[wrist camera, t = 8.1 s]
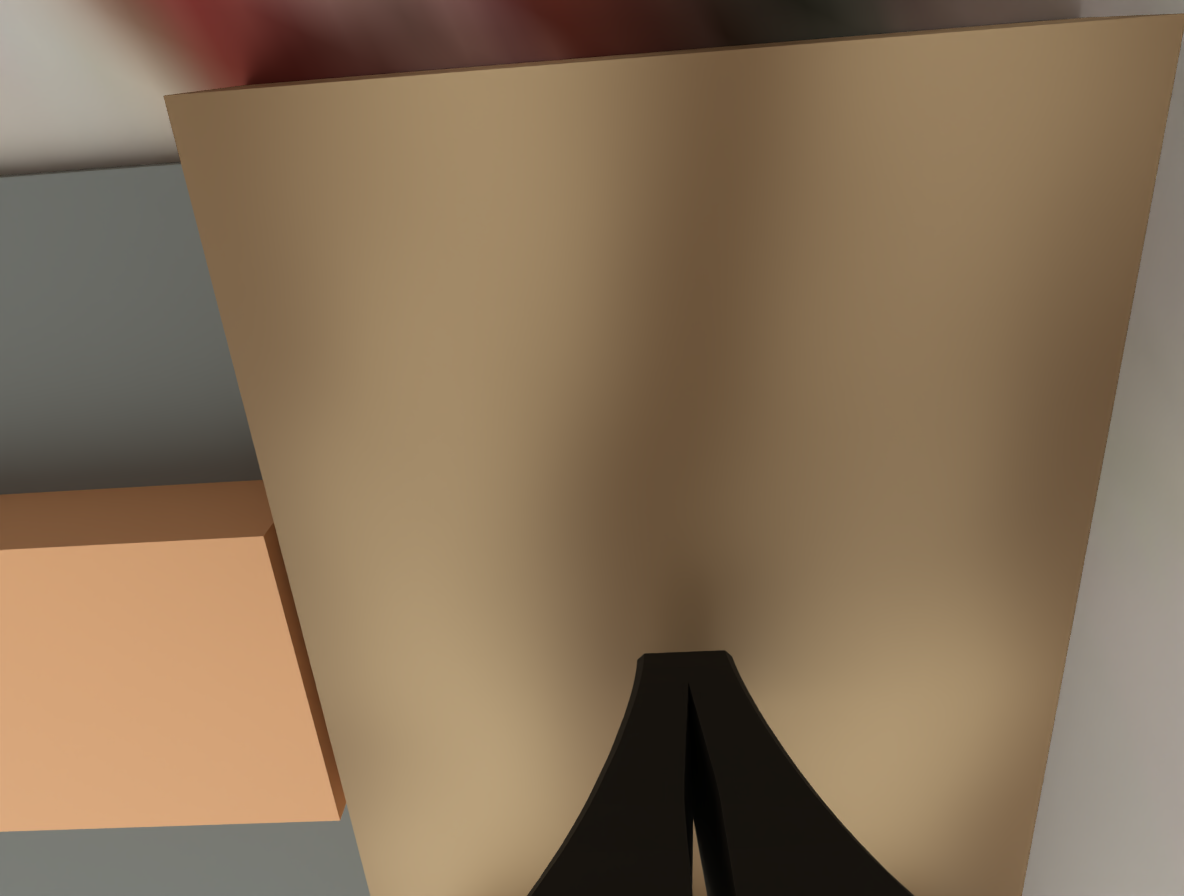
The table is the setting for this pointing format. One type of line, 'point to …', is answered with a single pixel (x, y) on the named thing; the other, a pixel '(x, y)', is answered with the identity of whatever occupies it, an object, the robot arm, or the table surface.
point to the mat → (131, 475)
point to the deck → (688, 413)
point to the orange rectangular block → (154, 664)
